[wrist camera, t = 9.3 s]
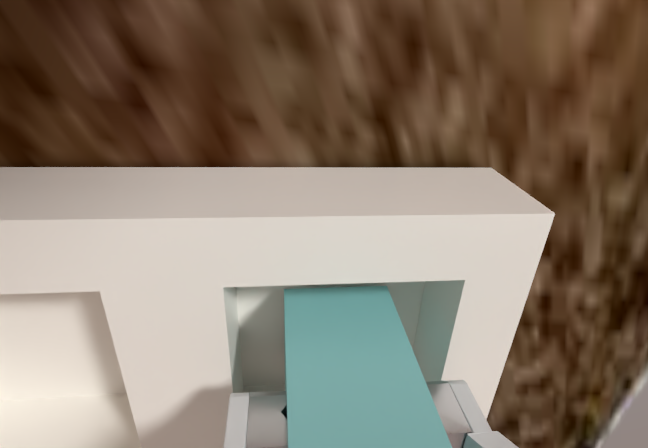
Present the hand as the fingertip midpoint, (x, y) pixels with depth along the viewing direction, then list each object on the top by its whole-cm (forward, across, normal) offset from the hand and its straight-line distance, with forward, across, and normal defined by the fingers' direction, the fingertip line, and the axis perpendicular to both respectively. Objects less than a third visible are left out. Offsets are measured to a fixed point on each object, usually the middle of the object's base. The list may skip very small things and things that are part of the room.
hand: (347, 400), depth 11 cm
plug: (+3, 0, 0) cm, 3 cm away
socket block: (+5, +5, +1) cm, 7 cm away
